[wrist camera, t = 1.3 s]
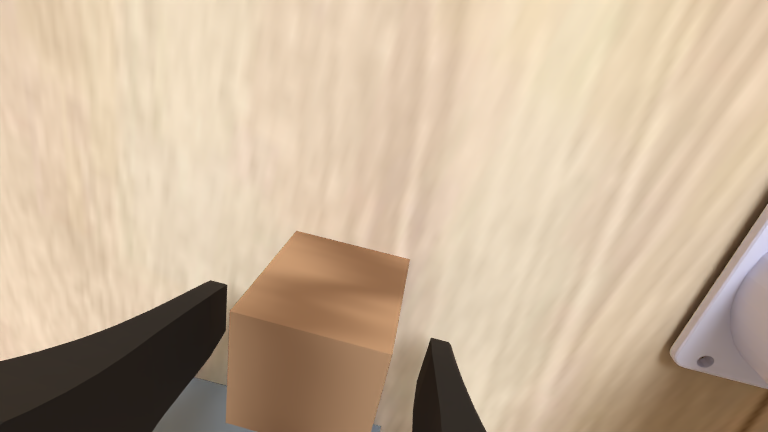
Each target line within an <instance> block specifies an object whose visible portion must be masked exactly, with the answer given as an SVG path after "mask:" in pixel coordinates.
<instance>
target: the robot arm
mask: <svg viewBox="0 0 768 432" xmlns="http://www.w3.org/2000/svg"><path fill="white" fill-rule="evenodd" d="M226 304H227V285H226V284H222V283H219V282H215V281H211V280H210V281H208V282H206V283H204V284H202V285H200V286H198V287H196V288H194V289H192V290H190V291H188V292H186V293H184V294H182V295H180V296H178V297H176V298H174V299H172V300H170V301H168V302H166V303H164V304H162V305H160V306H158V307H156V308H154V309H152V310H150V311H147V312H145V313H143V314H141V315H138V316H136V317H134V318H132V319H129V320H127V321H125V322H123V323H120V324H118V325H115V326H113V327H110V328H108V329H105V330H103V331H100V332H97V333H95V334H92V335H89V336H86V337H84V338H81V339H78V340H75V341H72V342H68V343H65V344H62V345H58V346H55V347H52V348H49V349H45V350H42V351H39V352H35V353H32V354H28V355H24V356H20V357H16V358H12V359H8V360H4V361H0V432H152V431H153V430H154V428H155V427H156V425H157V424H158V423H159V421H160V420H161V419H162V417H163V416H164V414H165V413H166V412H167V411H168V409H169V408H170V407H171V405H172V404H173V403H174V402H175V400H176V399H177V398H178V397H179V395H180V394H181V393H182V392H183V390H184V389H185V388H186V387H187V385H188V384H189V383H190V381H191V380H192V379H193V378H194V376H195V375H196V374H197V373H198V371H199V370H200V369H201V367H202V366H203V365H204V364H205V362H206V361H207V360H208V358H209V357H210V356H211V354H212V352H213V351H214V349H215V348H216V346H217V344H218V343H219V341H220V339H221V338H222V336H223V334H224V332H225V331H226ZM670 356H671V357H672V359H673V360H674V361H675V363H676V364H677V365H679V366H681V367H683V368H687V369H691V370H695V371H699V372H703V373H706V374H710V375H714V376H718V377H722V378H726V379H730V380H734V381H737V382H741V383H745V384H749V385H753V386H757V387H761V388H765V389H768V204H767V206H766V207H765V209H764V210H763V212H762V213H761V215H760V216H759V218H758V219H757V221H756V222H755V224H754V225H753V227H752V228H751V230H750V231H749V233H748V234H747V236H746V237H745V238H744V240H743V241H742V243H741V244H740V246H739V247H738V249H737V250H736V252H735V253H734V255H733V256H732V258H731V259H730V261H729V262H728V264H727V265H726V267H725V268H724V270H723V271H722V273H721V274H720V276H719V277H718V279H717V280H716V282H715V283H714V285H713V286H712V287H711V289H710V290H709V292H708V293H707V295H706V296H705V298H704V299H703V301H702V302H701V304H700V305H699V307H698V308H697V310H696V311H695V313H694V314H693V316H692V317H691V319H690V320H689V322H688V323H687V325H686V326H685V328H684V329H683V331H682V332H681V334H680V335H679V337H678V338H677V339H676V341H675V342H674V344H673V345H672V347H671V349H670ZM703 356H705V357H704V358H702V359H699V358H700V357H703ZM412 432H486V430H485V428H484V426H483V424H482V422H481V420H480V418H479V416H478V414H477V412H476V410H475V408H474V406H473V403H472V401H471V399H470V396H469V394H468V392H467V389H466V387H465V385H464V382H463V379H462V377H461V374H460V371H459V369H458V366H457V363H456V360H455V357H454V354H453V351H452V347H451V345H450V343H449V342H446V341H442V340H438V339H434V338H431V339H430V342H429V346H428V349H427V352H426V355H425V358H424V361H423V364H422V367H421V370H420V373H419V377H418V380H417V385H416V392H415V399H414V407H413V425H412Z"/></svg>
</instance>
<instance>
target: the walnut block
mask: <svg viewBox="0 0 768 432" xmlns="http://www.w3.org/2000/svg"><path fill="white" fill-rule="evenodd" d="M409 261H410V259H406V258H402V257H398V256H394V255H390V254H386V253H382V252H378V251H374V250H370V249H366V248H362V247H358V246H354V245H350V244H346V243H342V242H338V241H335V240H331V239H327V238H323V237H319V236H315V235H311V234H307V233H303V232H299V231H296V232H295V233H294V235H293V236H292V237H291V238H290V239H289V241H288V242H287V243H286V244H285V245H284V247H283V248H282V249H281V250H280V251H279V253H278V254H277V255H276V256H275V257H274V259H273V260H272V261H271V262H270V263H269V265H268V266H267V267H266V268H265V269H264V271H263V272H262V273H261V274H260V275H259V277H258V278H257V279H256V280H255V281H254V283H253V284H252V285H251V286H250V288H249V289H248V290H247V291H246V292H245V294H244V295H243V296H242V297H241V298H240V300H239V301H238V302H237V303H236V304H235V306H234V307H233V308H232V309H231V310H230V319H229V346H228V372H227V399H226V423H228V424H232V425H235V426H239V427H242V428H246V429H249V430H253V431H256V432H371V430H372V426H373V423H374V419H375V416H376V412H377V408H378V405H379V401H380V397H381V394H382V390H383V386H384V383H385V379H386V376H387V372H388V368H389V365H390V361H391V357H392V353H393V348H394V342H395V337H396V332H397V326H398V321H399V315H400V310H401V304H402V299H403V294H404V288H405V283H406V277H407V272H408V266H409Z"/></svg>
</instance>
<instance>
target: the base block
mask: <svg viewBox="0 0 768 432" xmlns="http://www.w3.org/2000/svg"><path fill="white" fill-rule="evenodd" d="M226 399H227V386H225V385H222V384H218V383H214V382H210V381H206V380H203V379H199V378H195V377H194V378H193V379H192V380H191V381H190V383H189V384H188V385H187V387H186V388H185V389H184V390H183V392H182V393H181V394H180V395H179V397H178V398H177V399H176V400H175V402H174V403H173V404H172V405H171V407H170V408H169V409H168V411H167V412H166V413H165V414H164V416H163V417H162V419H161V420H160V421H159V423H158V424H157V425H156V427H155V428H154V430H153V431H152V432H256V431H253V430H249V429H246V428H242V427H239V426H235V425H232V424H228V423H226ZM380 428H381V426H378V425H374V424H373V426H372V430H371V432H380Z"/></svg>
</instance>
